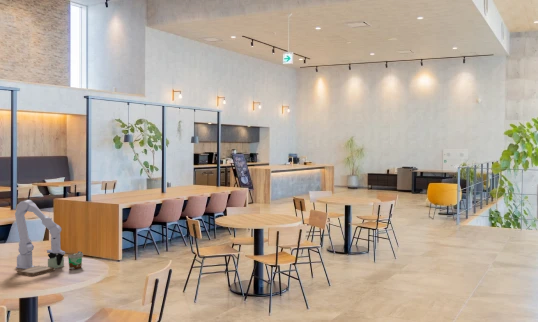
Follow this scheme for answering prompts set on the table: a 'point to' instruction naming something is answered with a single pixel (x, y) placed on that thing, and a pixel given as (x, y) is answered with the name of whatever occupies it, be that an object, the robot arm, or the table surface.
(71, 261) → the food container
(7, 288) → the table surface
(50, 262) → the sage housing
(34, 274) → the walnut stand
